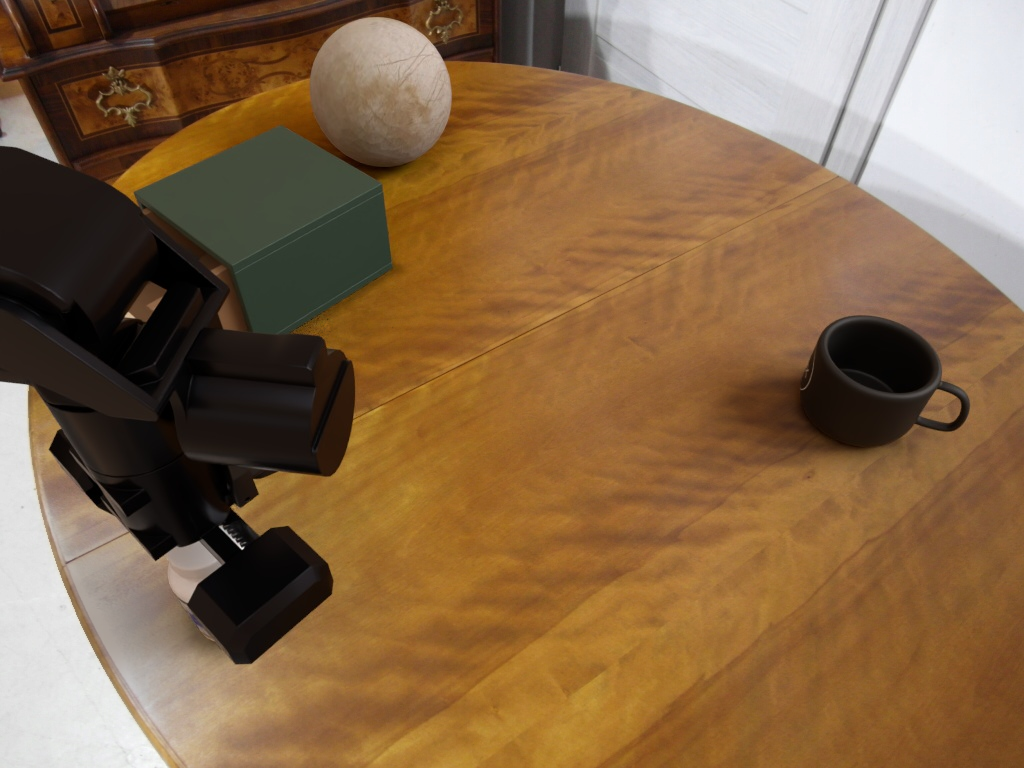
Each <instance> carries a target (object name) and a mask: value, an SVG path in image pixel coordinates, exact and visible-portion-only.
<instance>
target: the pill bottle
mask: <svg viewBox="0 0 1024 768" xmlns="http://www.w3.org/2000/svg"><path fill="white" fill-rule="evenodd" d="M222 526H223V525H222ZM222 526H219V527H220V528H221V529H222V530H223V531H224V532H225V533H226V534H227V535H228V536H229V537H230V538H231V539H232V540H233V541H234V542H235V543H236V544H237V545H238V546H239V547H240V548H241V550H242V549H244V547H243V548H242V547H241V546H240V544H239V543H237V542H236V540H235V539H236V538H235V539H233V538H232V537H231V534H230V535H229V534H228V533H227V531H226V530H224V529H223V527H222ZM164 557H165V559H166V560H167V562H168V566H167V578H168V579H167V580H168V583H169V586H170V589H171V590H172V593H174V595H175V597H176V598H177V600H178V601H179V603H180V604H181V605H182V607H183V608H184V610H185V611H186V613H187V615H188V616H189V618H190V619H191V620H192V621H193V624H194V625H195V626H196V628H197V629H198V630H199V631H200V633H201V634H202V635H203V636H204V637H205V638H207V639H208V640H210V641H212V642H214V643H216V642H215V641H214V640H213V639H212V638H211V637H210V635H209V634H208V633H207V632H206V631H205V630H204V628H203V627H202V626H201V624H200V623H199V622H198V621H197V619H196V618H195V617H194V615H193V614H192V613H191V611H190V609H189V608H188V606H187V604H188V602H189V600H190V598H191V596H192V594H193V592H194V590H195V588H196V586H197V584H198V583H200V582H201V581H202V580H204V579H205V578H206V577H207V576H209V575H210V574H211V573H213V572H214V571H215V570H217V569H218V568H219V567H220V566H222V565H221V564H220V563H219V562H218V560H217V559H216V558H215V557H214V556H213V555H212V554H211V553H210V552H209V551H208V550H207V549H206V548H205V547H204V546H203V545H202V544H201V543H200V542H199V541H198V542H196V543H194V544H191V545H188V546H185V547H177V546H176V547H175V548H173V549H172V550H171V551H169V552H168V553H166V554H165V555H164Z"/></svg>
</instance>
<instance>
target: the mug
mask: <svg viewBox="0 0 1024 768" xmlns="http://www.w3.org/2000/svg"><path fill="white" fill-rule="evenodd" d="M942 376H943V366H942V362H941V359H940V357H939V355H938V353H937V351H936V350H935V348H934V347H933V346H932V345H931V344H930V342H928V341H927V339H925V338H924V337H923V336H922V335H921V334H919V333H918V332H916V331H915V330H914V329H912V328H910V327H908V326H906V325H904V324H902V323H900V322H897V321H894V320H892V319H889V318H886V317H881V316H875V315H869V314H868V315H866V314H857V315H856V314H855V315H848V316H844V317H840V318H839V319H836V320H834V321H833V322H831V323H829V324H828V325H826V327H825V328H824V329H823V330H822V332H821V333H820V335H819V336H818V339H817V341H816V343H815V346H814V348H813V351H812V353H811V355H810V357H809V360H808V362H807V364H806V367H805V369H804V371H803V373H802V376H801V379H800V384H799V396H800V401H801V407H802V408H803V410H804V413H805V414H806V416H807V418H808V419H809V421H810V423H812V424H813V425H814V426H815V428H817V429H818V430H820V431H821V432H822V433H824V435H826V436H828V437H830V438H832V439H834V440H836V441H838V442H840V443H843V444H845V445H850V446H854V447H859V448H876V447H881V446H884V445H888V444H891V443H892V442H895V441H897V440H899V439H900V438H902V437H903V436H905V435H906V434H907V433H908V432H910V431H911V429H912V428H913V427H914V425H917V426H920V427H923V428H926V429H930V430H933V431H937V432H943V433H951V432H954V431H957V430H958V429H959V428H961V427H962V426H963V425H964V424H965V422H966V421H967V419H968V418H969V417H968V416H969V414H970V410H971V400H970V398H969V395H968V393H967V392H966V391H965V389H963V388H961V387H960V386H958V385H956V384H954V383H951V382H949V381H946V380H945V381H944V380H942V378H943V377H942ZM937 390H939V391H941V392H946V393H947V394H950V395H952V396H953V397H954V396H955V397H956V398H957V399H958V400H959V401H960V411H959V414H958V415H957V417H956V418H955V419H954V420H953V421H951V422H943V421H938V420H934V419H930V418H927V417H924V416H922V415H921V414H922V413H923V410H924V409H925V407H926V406H927V404H928V403H929V401H930V400H931V398H932V397H933V395H934V394H935V392H936V391H937Z"/></svg>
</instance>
